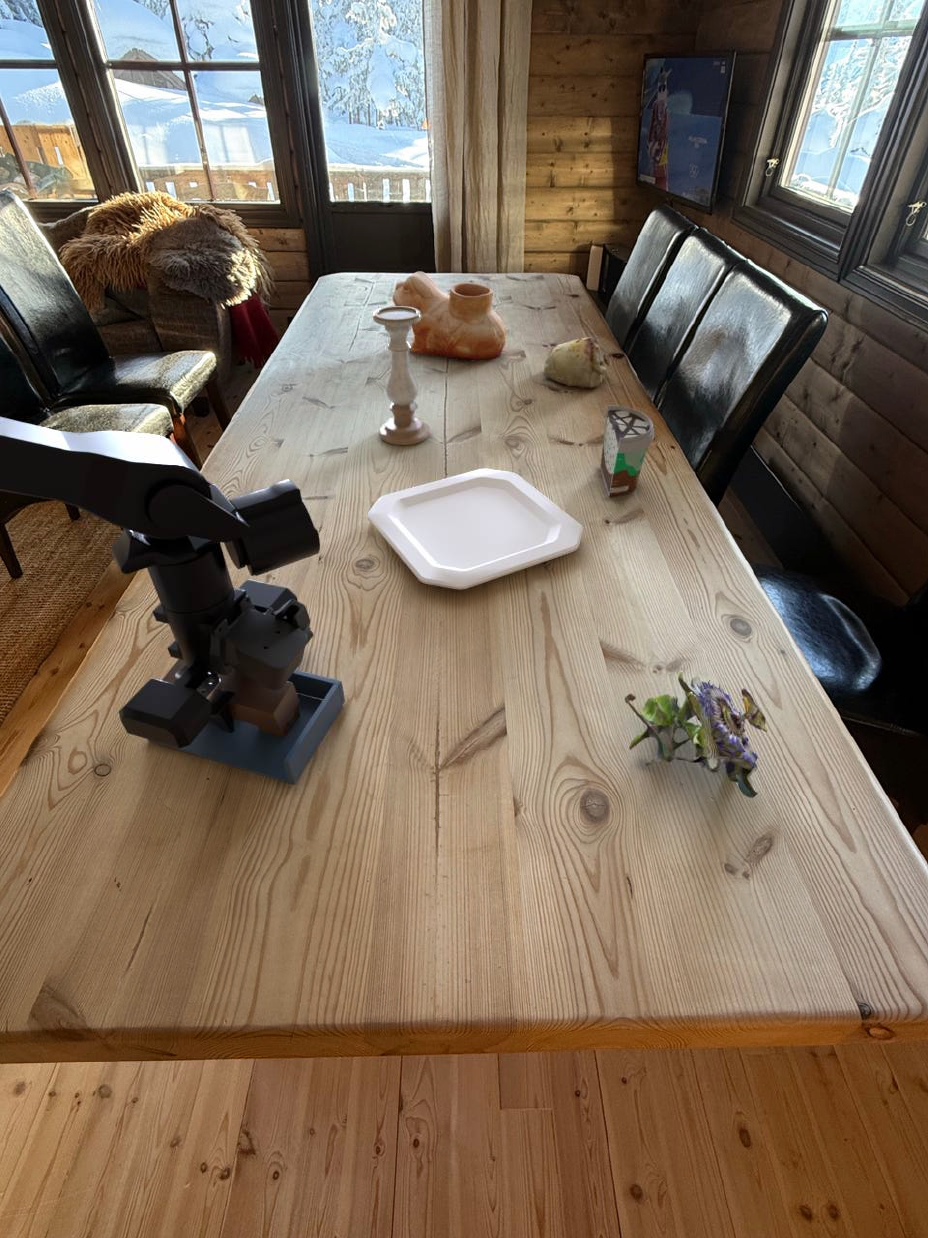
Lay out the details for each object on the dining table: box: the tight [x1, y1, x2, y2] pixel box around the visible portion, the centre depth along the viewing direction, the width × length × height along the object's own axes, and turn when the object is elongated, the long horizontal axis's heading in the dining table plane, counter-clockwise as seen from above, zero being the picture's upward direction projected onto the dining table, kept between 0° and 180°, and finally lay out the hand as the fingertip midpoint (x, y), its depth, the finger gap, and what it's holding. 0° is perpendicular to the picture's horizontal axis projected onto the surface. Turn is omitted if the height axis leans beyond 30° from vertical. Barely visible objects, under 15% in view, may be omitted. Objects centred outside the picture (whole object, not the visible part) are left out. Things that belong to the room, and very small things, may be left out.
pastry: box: [543, 336, 607, 389], centre depth 134 cm, size 14×12×8 cm
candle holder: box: [372, 305, 431, 446], centre depth 109 cm, size 9×9×20 cm
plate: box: [366, 468, 584, 590], centre depth 91 cm, size 25×25×2 cm
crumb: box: [258, 706, 300, 737], centre depth 65 cm, size 3×3×3 cm
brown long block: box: [161, 659, 300, 732], centre depth 62 cm, size 12×4×4 cm, turn 71°
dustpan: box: [147, 669, 346, 786], centre depth 68 cm, size 17×16×3 cm
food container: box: [599, 404, 655, 498], centre depth 100 cm, size 12×6×10 cm, turn 179°
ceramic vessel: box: [391, 271, 507, 363], centre depth 144 cm, size 14×26×15 cm, turn 67°
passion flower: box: [624, 670, 768, 799], centre depth 60 cm, size 11×11×12 cm
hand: (239, 717), depth 64 cm, fingers closed on brown long block, 3 cm apart
